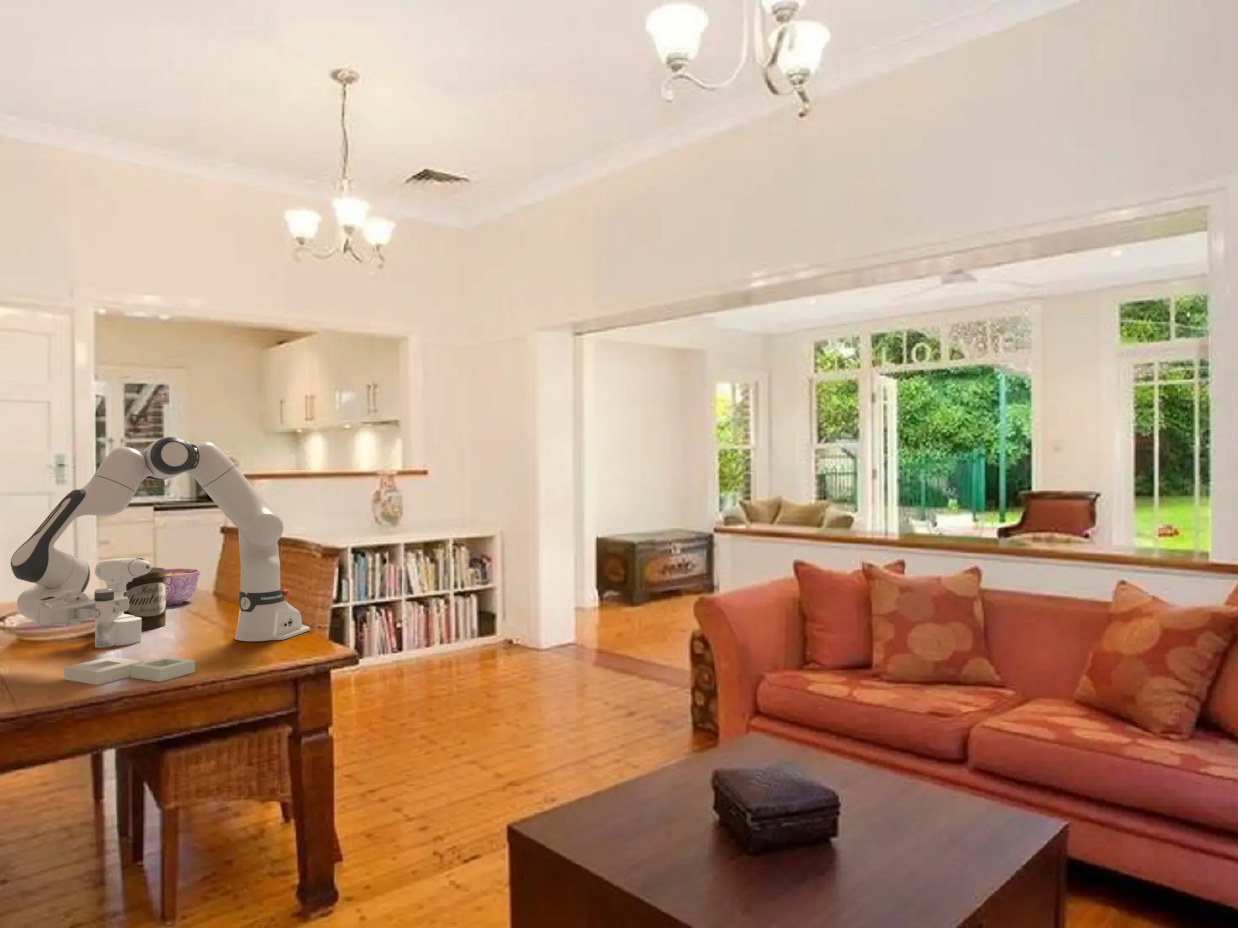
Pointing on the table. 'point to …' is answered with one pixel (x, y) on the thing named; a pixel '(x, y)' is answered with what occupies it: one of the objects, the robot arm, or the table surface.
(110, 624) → the clear capped tube
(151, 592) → the brown cylinder
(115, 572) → the power drill
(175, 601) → the bowl of food
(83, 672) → the socket block
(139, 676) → the block
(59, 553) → the robot arm
